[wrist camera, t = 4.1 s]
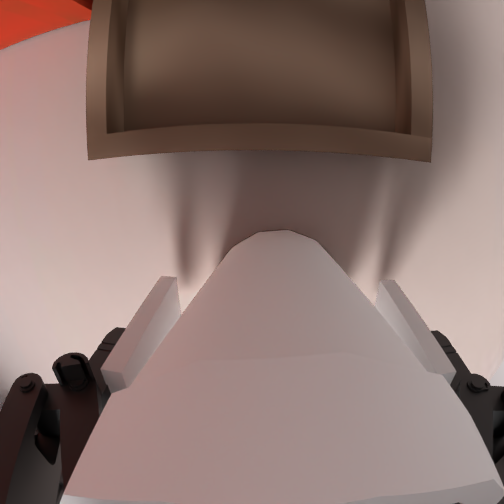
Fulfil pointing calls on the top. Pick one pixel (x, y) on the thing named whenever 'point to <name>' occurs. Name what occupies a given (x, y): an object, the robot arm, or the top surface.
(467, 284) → the top surface
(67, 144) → the top surface
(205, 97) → the square wooden tray
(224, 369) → the foam cup
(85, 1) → the file binder
